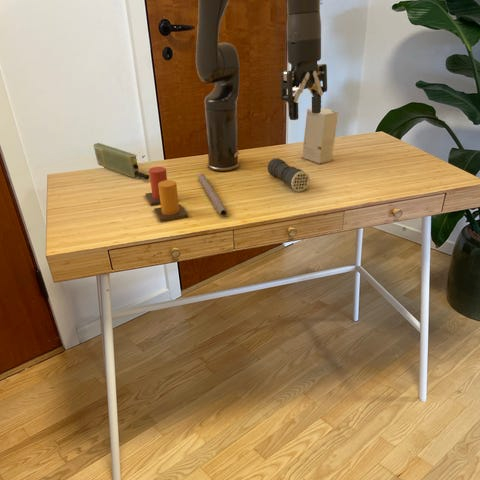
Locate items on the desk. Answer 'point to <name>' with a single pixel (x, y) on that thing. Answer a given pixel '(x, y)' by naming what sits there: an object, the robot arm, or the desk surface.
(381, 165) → the desk surface
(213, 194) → the metal rod
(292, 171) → the flashlight
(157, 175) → the red peg stand
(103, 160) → the handheld radio
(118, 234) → the desk surface
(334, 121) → the pale wooden block
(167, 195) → the ochre post
